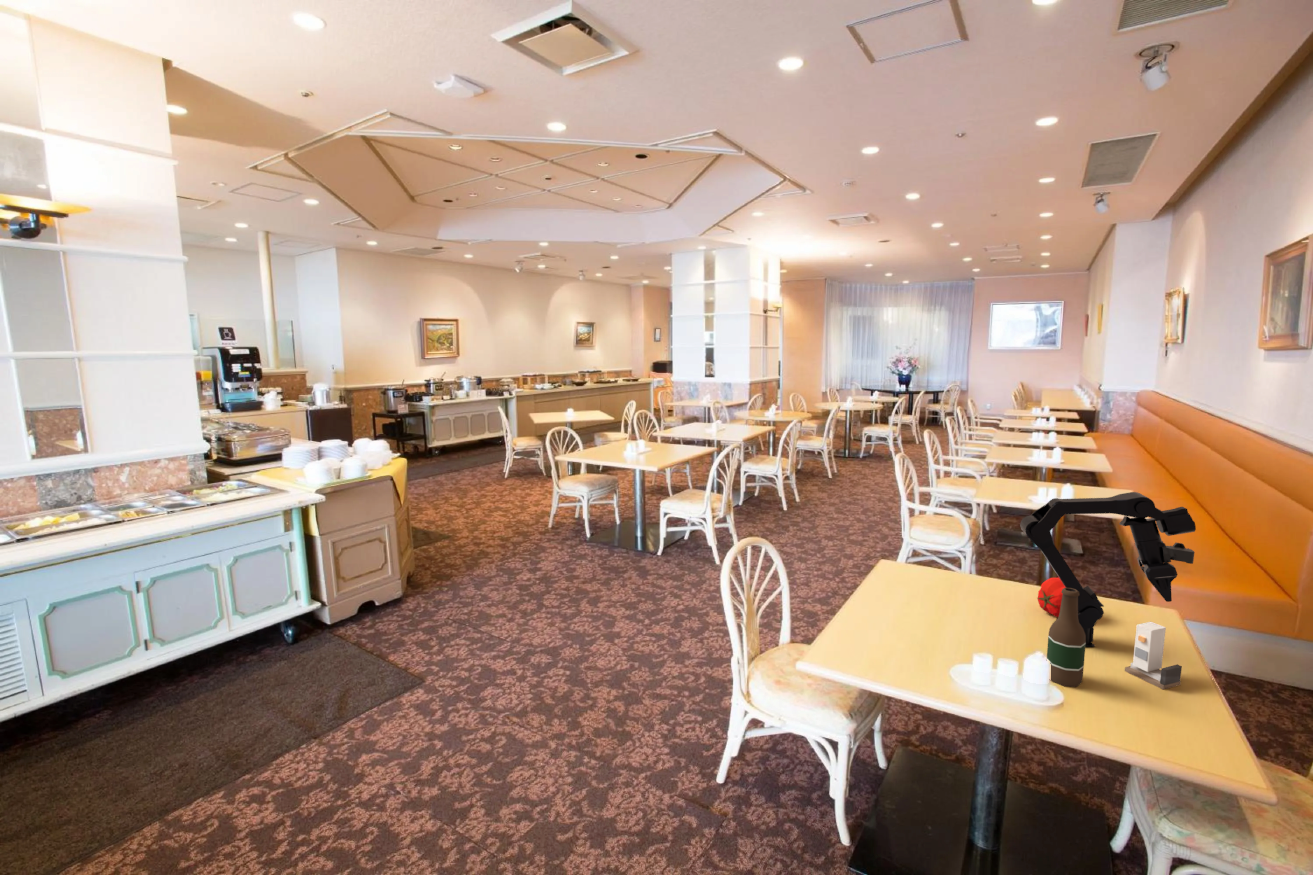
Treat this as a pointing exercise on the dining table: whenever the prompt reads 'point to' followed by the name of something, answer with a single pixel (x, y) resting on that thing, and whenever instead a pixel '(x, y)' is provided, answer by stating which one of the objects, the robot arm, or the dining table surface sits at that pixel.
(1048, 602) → the tomato
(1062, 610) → the beer bottle
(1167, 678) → the rail board
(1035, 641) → the dining table surface
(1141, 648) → the switch module
